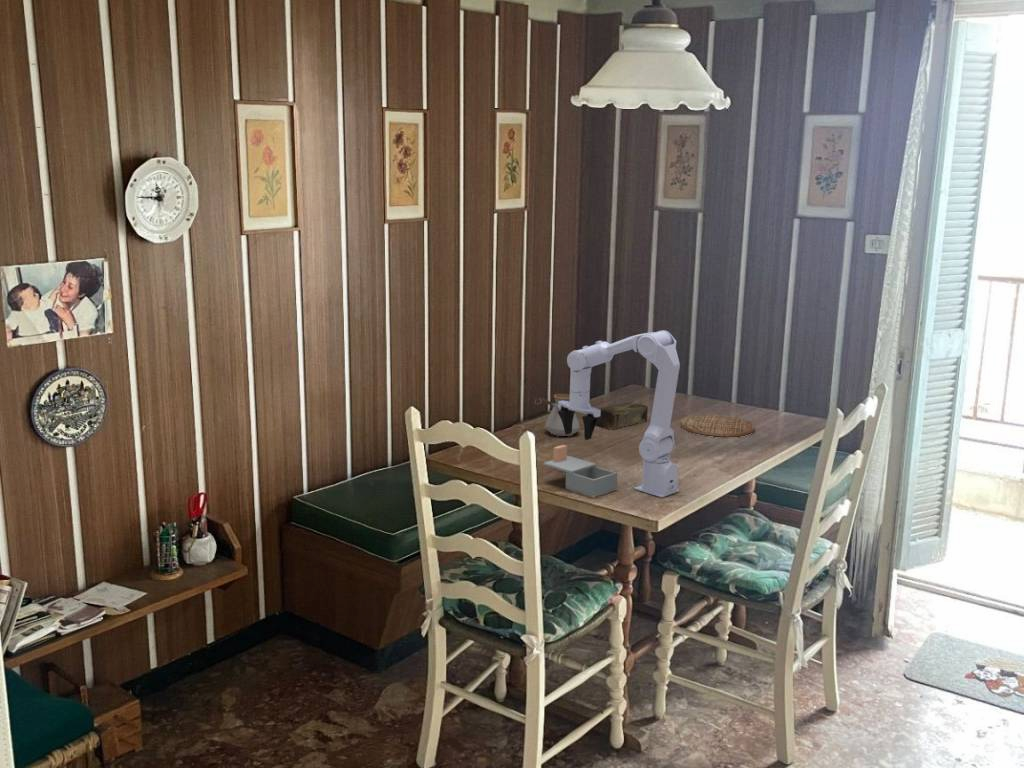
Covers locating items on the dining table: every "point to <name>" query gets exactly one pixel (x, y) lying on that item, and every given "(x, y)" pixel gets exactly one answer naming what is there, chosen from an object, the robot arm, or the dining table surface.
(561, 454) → the lid
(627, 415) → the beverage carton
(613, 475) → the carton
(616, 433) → the dining table surface
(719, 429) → the trivet
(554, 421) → the coffee pot
